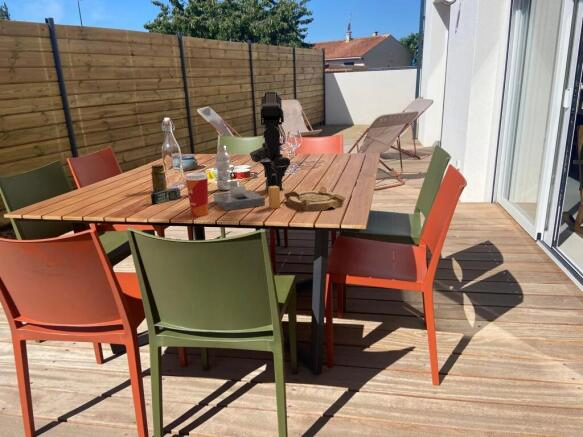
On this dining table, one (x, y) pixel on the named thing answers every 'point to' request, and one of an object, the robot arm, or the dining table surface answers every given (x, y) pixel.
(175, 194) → the dark grey elongated bar
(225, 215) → the dining table surface
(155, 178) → the condiment
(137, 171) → the dining table surface
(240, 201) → the grey slotted base plate
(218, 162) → the plastic bottle
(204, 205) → the coffee cup
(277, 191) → the orange rectangular block
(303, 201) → the ashtray
